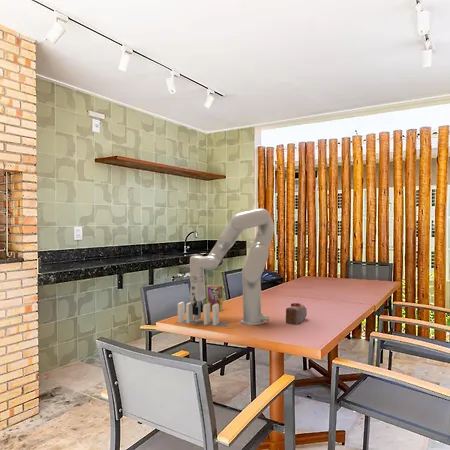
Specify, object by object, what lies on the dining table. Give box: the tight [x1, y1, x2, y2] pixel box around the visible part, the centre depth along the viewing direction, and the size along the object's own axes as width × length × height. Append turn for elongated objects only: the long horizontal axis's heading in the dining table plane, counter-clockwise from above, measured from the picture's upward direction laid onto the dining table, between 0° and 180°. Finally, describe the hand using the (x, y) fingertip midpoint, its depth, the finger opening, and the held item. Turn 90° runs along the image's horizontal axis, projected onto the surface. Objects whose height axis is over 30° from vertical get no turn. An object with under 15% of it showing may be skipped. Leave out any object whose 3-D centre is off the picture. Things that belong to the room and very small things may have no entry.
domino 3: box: [202, 302, 211, 326], centre depth 204 cm, size 2×5×10 cm, turn 159°
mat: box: [175, 319, 231, 327], centre depth 206 cm, size 28×7×1 cm, turn 69°
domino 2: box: [185, 301, 194, 324], centre depth 208 cm, size 2×5×10 cm, turn 159°
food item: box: [285, 302, 308, 326], centre depth 206 cm, size 14×8×10 cm, turn 150°
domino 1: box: [177, 301, 186, 324], centre depth 210 cm, size 2×5×10 cm, turn 159°
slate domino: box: [193, 300, 202, 321], centre depth 206 cm, size 2×5×10 cm, turn 159°
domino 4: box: [211, 304, 220, 326], centre depth 203 cm, size 2×5×10 cm, turn 159°
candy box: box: [206, 284, 224, 312], centre depth 236 cm, size 9×4×15 cm, turn 96°
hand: (197, 313), depth 206 cm, fingers closed on slate domino, 4 cm apart
